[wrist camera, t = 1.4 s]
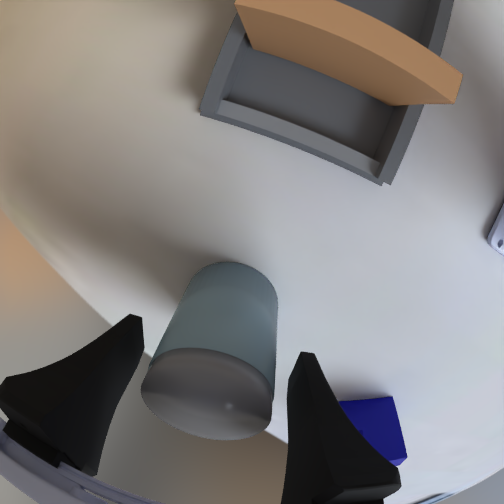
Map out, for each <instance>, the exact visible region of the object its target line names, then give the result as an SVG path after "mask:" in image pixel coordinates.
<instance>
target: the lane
mask: <svg viewBox="0 0 504 504" xmlns="http://www.w3.org/2000/svg"><path fill="white" fill-rule="evenodd" d="M335 1H338V2H340V3H343V4H345V5H348V6H350V7H352V8H355V9H357V10H359V11H361V12H363V13H365V14H367V15H370V16H372V17H374V18H376V19H378V20H380V21H381V22H383V23H385V24H387V25H389V26H391V27H393V28H394V29H396V30H398V31H400V32H401V33H403V34H405V35H407V36H408V37H410V38H412V39H413V40H415V41H416V42H418V43H420V44H421V45H423V46H424V47H426V48H427V49H429V50H430V51H432V52H433V53H435V54H436V55H437V56H439V57H440V54H441V51H442V47H443V43H444V40H445V36H446V32H447V28H448V24H449V20H450V16H451V11H452V7H453V2H454V0H335ZM423 106H424V104H417V105H399V106H389V105H387V104H385V103H383V102H381V101H380V100H378V99H376V98H374V97H372V96H370V95H368V94H366V93H364V92H362V91H360V90H358V89H356V88H354V87H352V86H350V85H348V84H346V83H343V82H341V81H339V80H337V79H335V78H332V77H330V76H328V75H325V74H323V73H320V72H318V71H316V70H313V69H311V68H308V67H305V66H303V65H300V64H297V63H295V62H292V61H289V60H286V59H283V58H280V57H277V56H274V55H271V54H268V53H264V52H261V51H258V50H254V49H253V48H252V45H251V43H250V40H249V38H248V35H247V33H246V30H245V28H244V26H243V23H242V21H241V18H240V16H239V14H238V12H237V14H236V16H235V18H234V20H233V23H232V25H231V27H230V29H229V32H228V34H227V36H226V39H225V41H224V44H223V46H222V48H221V51H220V53H219V56H218V58H217V61H216V63H215V66H214V69H213V71H212V74H211V77H210V79H209V82H208V85H207V87H206V90H205V93H204V96H203V99H202V102H201V104H200V107H199V109H200V110H201V113H200V115H201V116H205V117H208V118H212V119H215V120H218V121H222V122H225V123H228V124H231V125H234V126H238V127H241V128H244V129H247V130H250V131H252V132H255V133H258V134H261V135H264V136H267V137H269V138H272V139H275V140H278V141H280V142H283V143H285V144H288V145H291V146H293V147H296V148H298V149H301V150H303V151H306V152H308V153H310V154H313V155H315V156H318V157H320V158H322V159H325V160H327V161H329V162H332V163H334V164H336V165H338V166H340V167H343V168H345V169H347V170H349V171H351V172H353V173H356V174H358V175H360V176H362V177H364V178H366V179H368V180H370V181H372V182H374V183H376V184H378V185H380V186H382V184H383V182H385V183H387V184H389V185H391V183H392V181H393V179H394V177H395V175H396V172H397V170H398V168H399V166H400V163H401V161H402V159H403V156H404V154H405V152H406V149H407V147H408V144H409V142H410V140H411V137H412V135H413V132H414V130H415V127H416V125H417V122H418V119H419V117H420V114H421V111H422V109H423Z"/></svg>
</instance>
